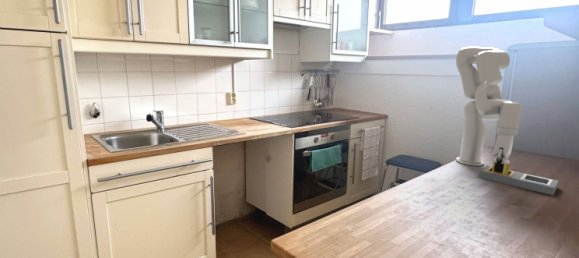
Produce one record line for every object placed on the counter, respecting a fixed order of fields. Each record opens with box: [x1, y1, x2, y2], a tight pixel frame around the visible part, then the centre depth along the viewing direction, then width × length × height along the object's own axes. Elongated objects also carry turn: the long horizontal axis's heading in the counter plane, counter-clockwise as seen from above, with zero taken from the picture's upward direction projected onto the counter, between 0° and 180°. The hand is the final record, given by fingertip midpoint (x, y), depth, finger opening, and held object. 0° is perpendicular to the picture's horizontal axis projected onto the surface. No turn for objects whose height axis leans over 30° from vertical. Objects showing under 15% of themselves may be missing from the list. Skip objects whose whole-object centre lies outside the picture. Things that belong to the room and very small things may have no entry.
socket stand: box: [478, 165, 559, 196], centre depth 136 cm, size 12×26×3 cm, turn 45°
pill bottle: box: [492, 153, 511, 175], centre depth 140 cm, size 6×6×11 cm
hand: (500, 170), depth 140 cm, fingers open, 6 cm apart
